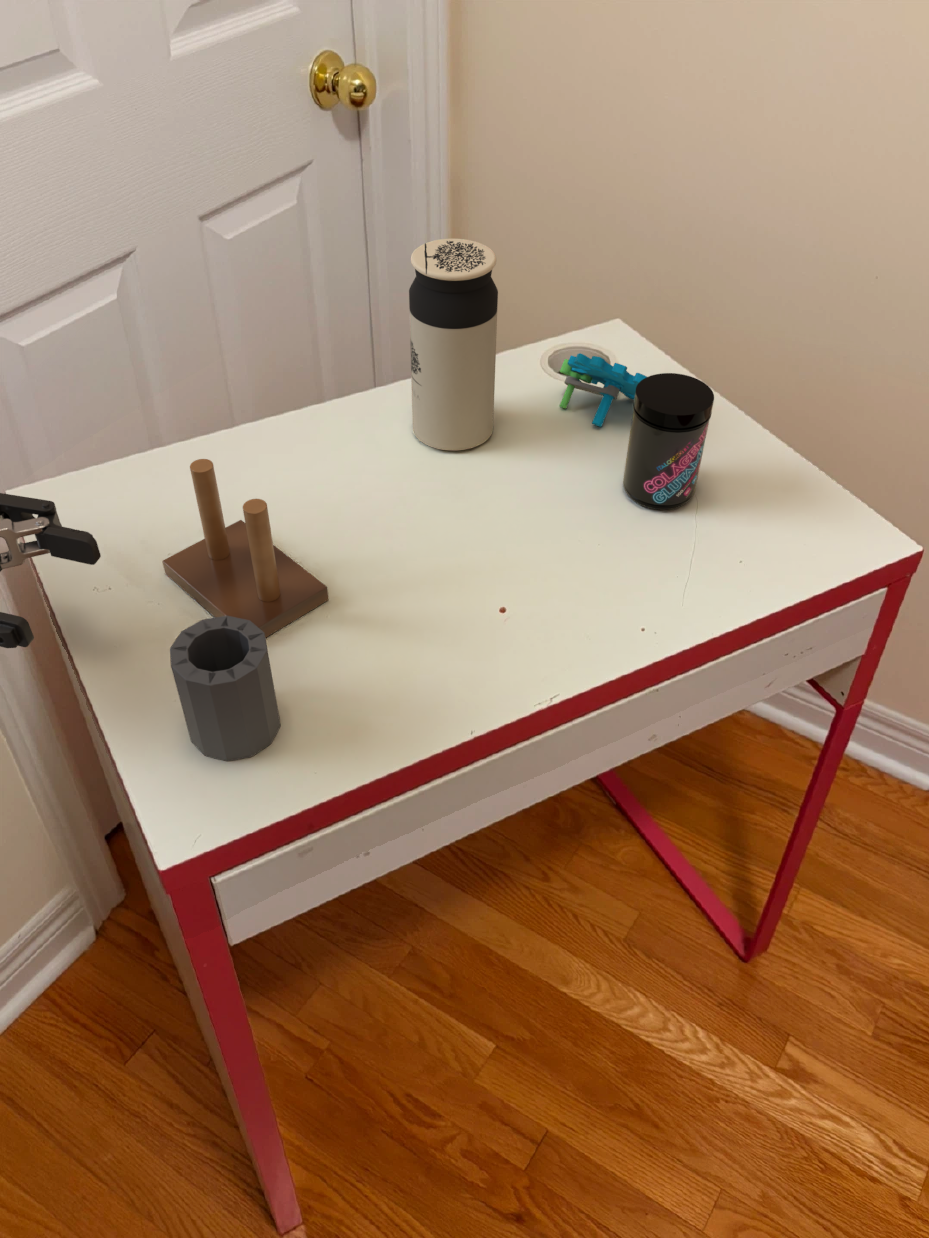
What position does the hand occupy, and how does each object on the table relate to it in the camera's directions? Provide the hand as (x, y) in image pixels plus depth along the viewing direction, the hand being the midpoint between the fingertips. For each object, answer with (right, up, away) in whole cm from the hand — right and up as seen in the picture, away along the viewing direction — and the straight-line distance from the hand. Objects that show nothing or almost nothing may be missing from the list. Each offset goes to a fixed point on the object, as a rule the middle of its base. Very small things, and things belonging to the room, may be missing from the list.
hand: (63, 590), depth 71 cm
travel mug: (+26, +17, +33) cm, 45 cm away
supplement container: (+45, +10, +26) cm, 53 cm away
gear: (+42, +19, +36) cm, 58 cm away
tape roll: (+11, -10, +5) cm, 15 cm away
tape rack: (+9, +1, +16) cm, 18 cm away
